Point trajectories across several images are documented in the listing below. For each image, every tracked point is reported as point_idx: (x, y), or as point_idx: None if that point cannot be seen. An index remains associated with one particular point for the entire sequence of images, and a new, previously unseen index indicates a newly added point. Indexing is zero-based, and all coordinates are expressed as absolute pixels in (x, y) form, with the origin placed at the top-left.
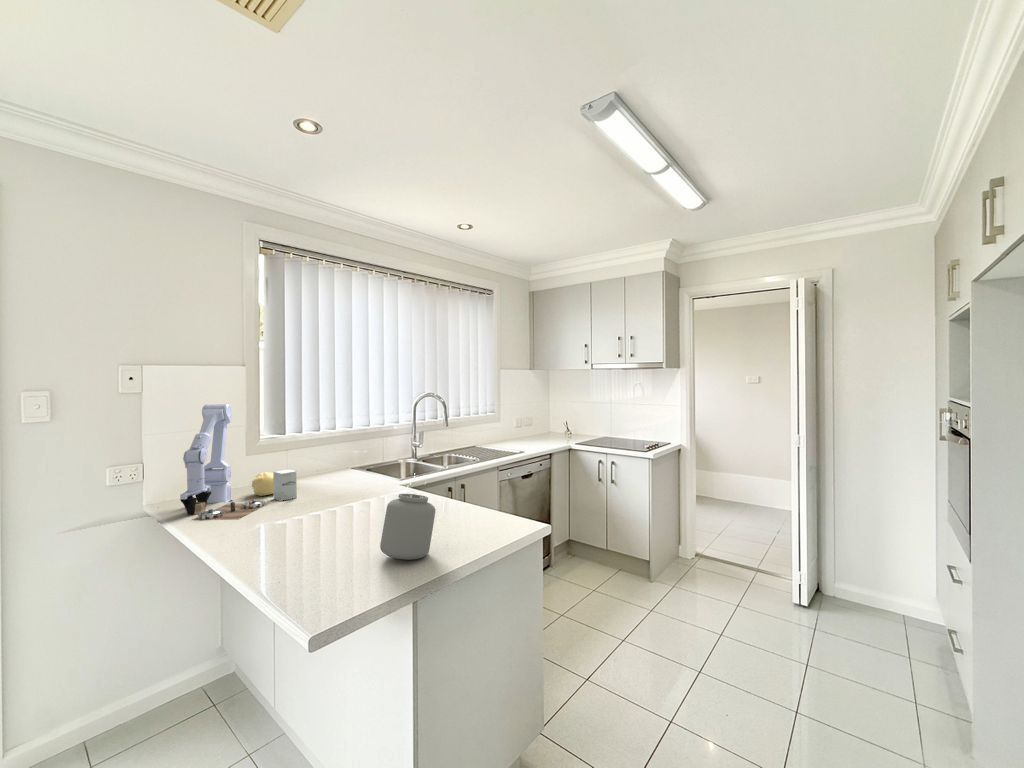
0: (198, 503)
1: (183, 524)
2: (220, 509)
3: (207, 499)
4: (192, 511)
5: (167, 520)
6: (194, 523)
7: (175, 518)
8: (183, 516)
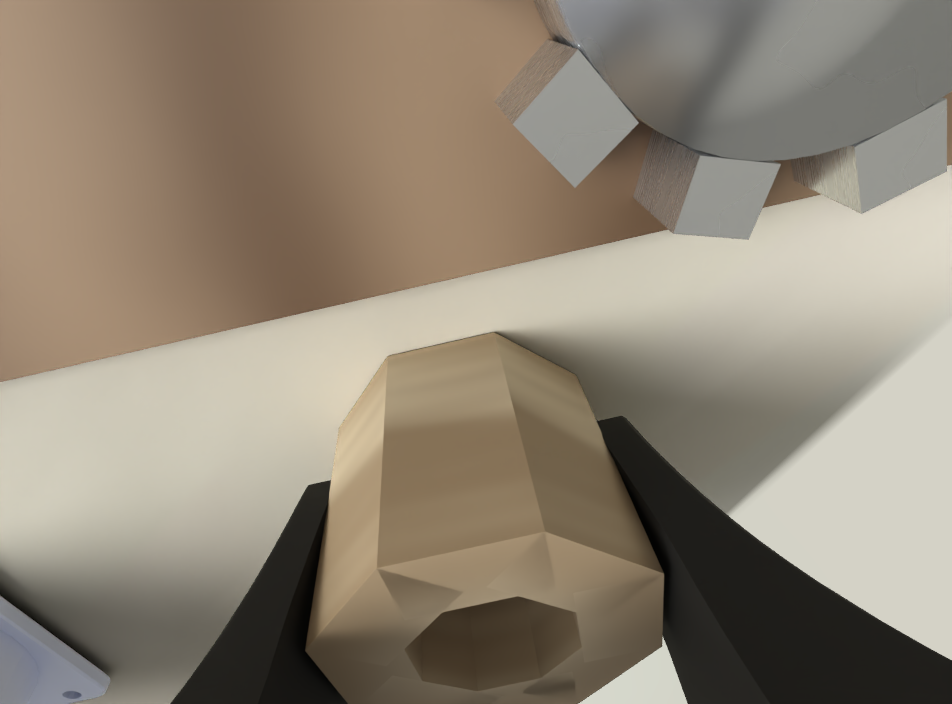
0: (415, 647)
1: (917, 251)
2: (128, 197)
3: (198, 688)
4: (662, 464)
5: None
6: None
7: None
8: None
